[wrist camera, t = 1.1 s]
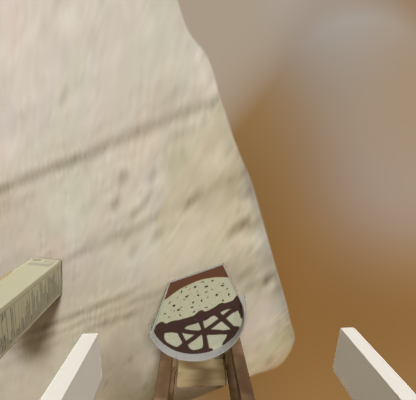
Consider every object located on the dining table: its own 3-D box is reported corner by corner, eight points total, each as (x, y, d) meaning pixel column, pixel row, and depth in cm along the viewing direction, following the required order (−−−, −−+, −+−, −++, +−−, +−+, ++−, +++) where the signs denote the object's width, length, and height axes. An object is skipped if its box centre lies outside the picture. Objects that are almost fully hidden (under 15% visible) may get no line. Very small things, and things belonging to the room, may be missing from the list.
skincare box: (32, 256, 30) (-74, 319, 19) (62, 259, 31) (-22, 323, 19) (33, 294, 32) (-65, 376, 20) (62, 296, 32) (-17, 378, 20)
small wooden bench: (164, 366, 36) (147, 480, 23) (163, 325, 34) (144, 424, 22) (236, 363, 37) (258, 471, 24) (239, 323, 35) (263, 417, 22)
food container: (173, 315, 34) (165, 378, 24) (160, 284, 33) (145, 338, 23) (243, 291, 34) (262, 345, 24) (232, 260, 33) (247, 303, 23)
